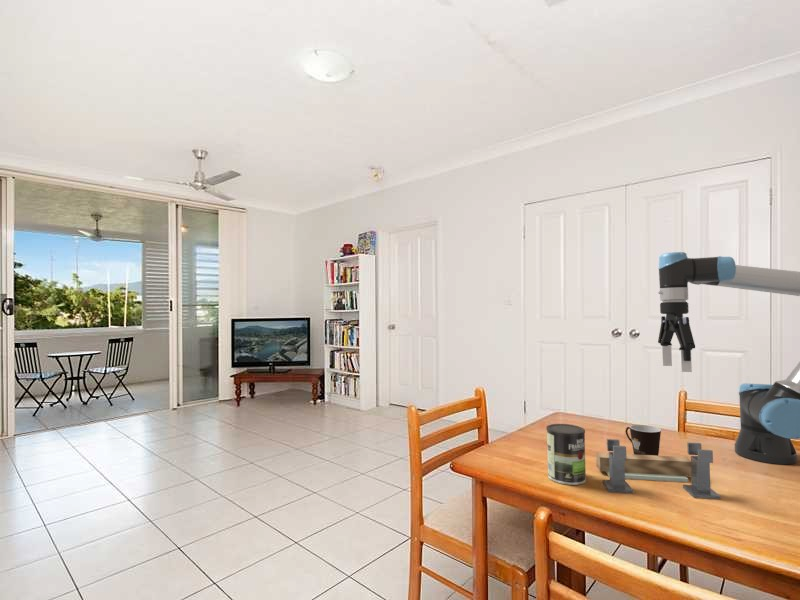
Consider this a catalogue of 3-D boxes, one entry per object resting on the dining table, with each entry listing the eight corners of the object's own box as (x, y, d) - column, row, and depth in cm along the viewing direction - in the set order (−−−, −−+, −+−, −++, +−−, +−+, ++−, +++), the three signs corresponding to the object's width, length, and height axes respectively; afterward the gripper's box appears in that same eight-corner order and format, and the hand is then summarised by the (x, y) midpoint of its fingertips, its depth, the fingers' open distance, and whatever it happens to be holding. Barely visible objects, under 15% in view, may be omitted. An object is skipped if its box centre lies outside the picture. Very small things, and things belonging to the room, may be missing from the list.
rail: (685, 470, 121) (685, 456, 121) (692, 476, 117) (692, 461, 117) (596, 466, 126) (596, 452, 126) (600, 471, 122) (599, 457, 122)
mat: (675, 471, 123) (675, 467, 123) (688, 482, 115) (688, 478, 115) (602, 467, 127) (602, 464, 127) (609, 477, 119) (609, 474, 119)
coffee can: (594, 480, 118) (593, 430, 118) (568, 488, 113) (567, 435, 113) (564, 468, 127) (563, 421, 127) (539, 475, 122) (538, 426, 122)
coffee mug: (666, 466, 128) (665, 432, 128) (635, 464, 129) (634, 431, 130) (651, 453, 139) (651, 422, 139) (623, 451, 141) (622, 421, 141)
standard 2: (707, 488, 111) (706, 443, 111) (721, 499, 105) (719, 451, 105) (682, 487, 112) (681, 442, 113) (694, 497, 106) (692, 450, 106)
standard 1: (625, 483, 115) (624, 439, 115) (633, 494, 109) (632, 447, 109) (602, 482, 116) (601, 438, 117) (608, 492, 110) (607, 446, 110)
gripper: (646, 302, 146) (648, 363, 146) (678, 301, 122) (680, 374, 121) (670, 301, 145) (672, 363, 144) (707, 300, 120) (710, 374, 120)
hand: (676, 368), depth 133 cm, fingers open, 13 cm apart
